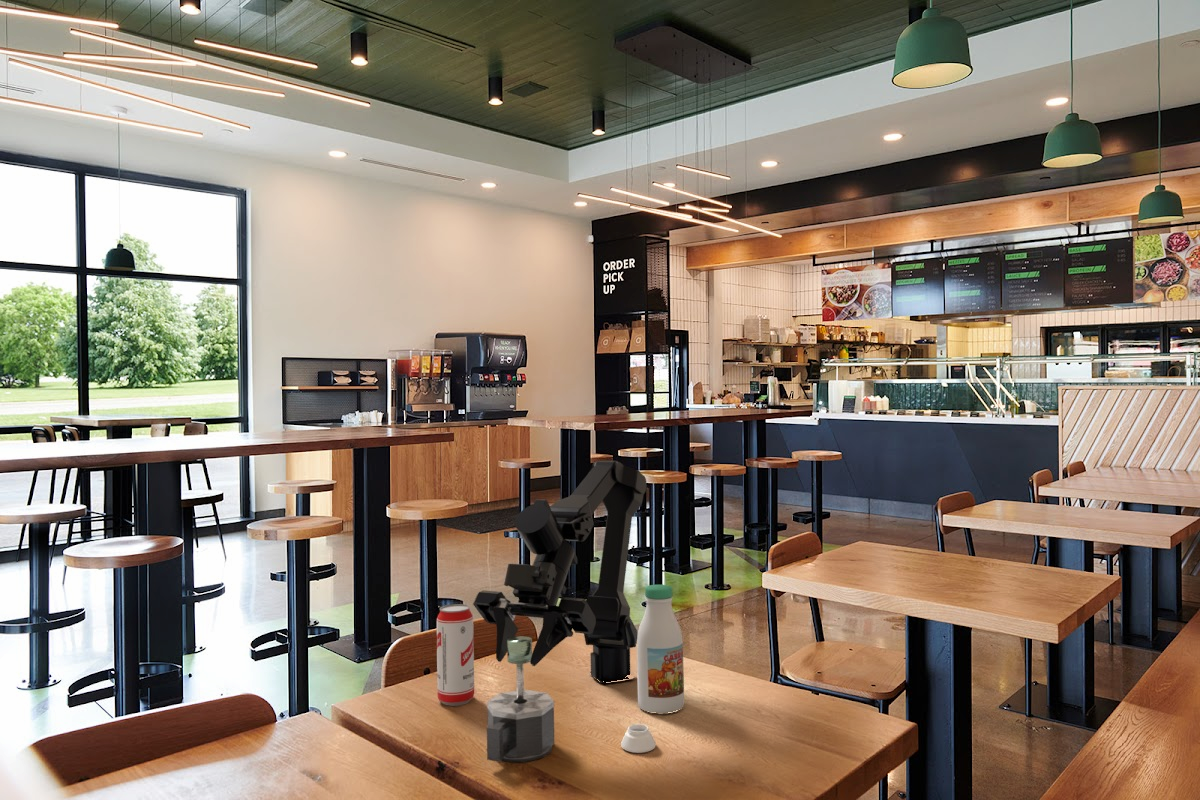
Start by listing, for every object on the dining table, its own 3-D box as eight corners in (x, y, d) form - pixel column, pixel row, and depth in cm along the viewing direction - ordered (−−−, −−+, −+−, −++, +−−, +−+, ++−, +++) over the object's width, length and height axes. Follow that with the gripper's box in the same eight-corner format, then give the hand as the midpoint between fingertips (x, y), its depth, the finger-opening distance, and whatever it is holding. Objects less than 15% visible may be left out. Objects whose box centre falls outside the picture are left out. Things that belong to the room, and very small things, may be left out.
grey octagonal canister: (510, 733, 123) (509, 687, 123) (563, 741, 120) (562, 694, 120) (465, 765, 112) (464, 715, 112) (522, 776, 108) (521, 724, 108)
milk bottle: (631, 712, 131) (629, 590, 131) (646, 696, 138) (644, 580, 138) (676, 718, 128) (674, 593, 128) (689, 702, 135) (687, 583, 136)
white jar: (652, 756, 114) (657, 742, 119) (652, 735, 114) (657, 722, 119) (618, 754, 115) (624, 740, 120) (618, 733, 115) (624, 720, 120)
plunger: (516, 701, 120) (515, 635, 120) (537, 704, 118) (536, 637, 118) (503, 709, 116) (502, 641, 117) (525, 712, 115) (524, 644, 115)
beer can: (478, 694, 141) (477, 603, 141) (469, 707, 134) (467, 612, 135) (443, 693, 141) (442, 603, 142) (432, 706, 135) (431, 611, 135)
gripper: (478, 538, 125) (438, 627, 115) (586, 544, 118) (553, 640, 107) (505, 579, 132) (469, 666, 122) (608, 587, 125) (579, 680, 114)
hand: (515, 662), depth 116 cm, fingers open, 5 cm apart
